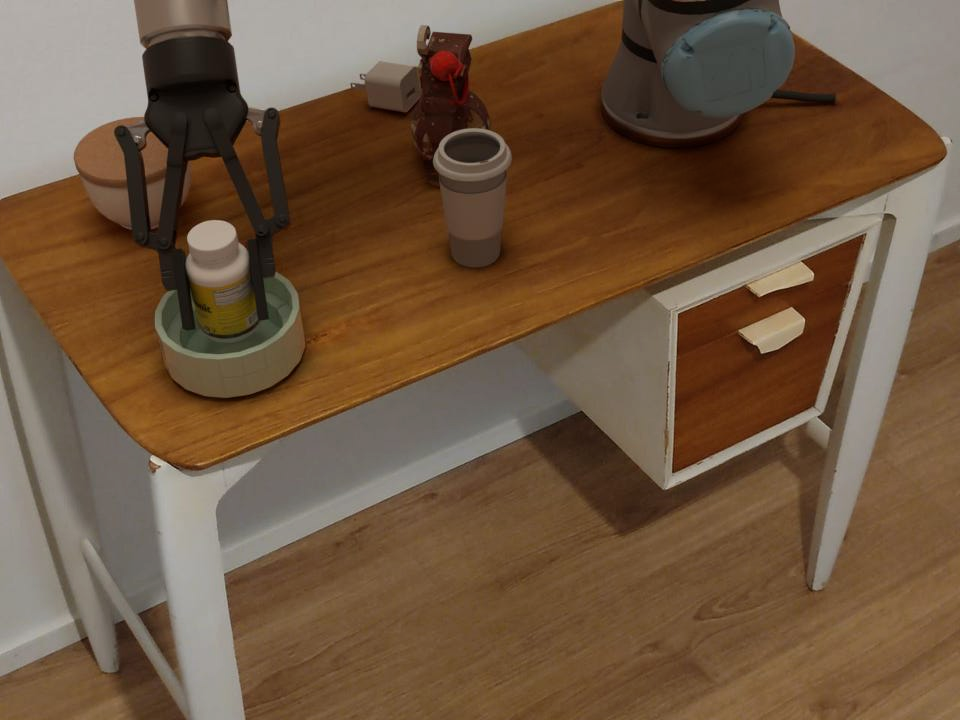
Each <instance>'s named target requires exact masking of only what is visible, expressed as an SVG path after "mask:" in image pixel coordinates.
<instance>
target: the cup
mask: <svg viewBox="0 0 960 720" xmlns="http://www.w3.org/2000/svg"><path fill="white" fill-rule="evenodd" d="M512 162H513V155H512V151H511V149H510V147H509V146H508V144H507V143H506V141H505V140H504V138H503V137H502V136H501V135H500V134H499V133H496V132H495V131H492V130H491V129H490V130H486V129H479V128H469V129H462V130H458V131H455V132H453V133H451V134H449V135H447V136H446V137H444V138H443V139H442V140H441V142H440V144H439V148H438V149H437V151H436V152H435V154H434V158H433V165H434V167H435V169H436V170H437V171H438V172H439V182H440V187H439V188H440V194H441V195H440V196H441V201H442V209H443V215H444V222H445V228H446V230H447V234H448V239H449V240H448V242H449V247H450V253H451V258H452V259H453V260H454V262H456V263H457V264H459V265H460V266H463V267H466V268H475V269H476V268H483V267H486V266H490V265H492V264H493V263H494V262H496V261H497V259H499V257H500V254H501V242H502V228H503V226H504V219H505V206H506V193H507V182H508V171H507V169H508V168H509V167H510V165H511V163H512Z"/></svg>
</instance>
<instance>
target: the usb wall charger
mask: <svg viewBox="0 0 960 720" xmlns="http://www.w3.org/2000/svg"><path fill="white" fill-rule="evenodd" d="M359 79H360V80H363V81H364V83H359V82H350V83H349V84H350V88H351V89H352V90H357V91H362V92H366V96H367V103H368V106H369V107H370V108H376V109H383V110H389V111H395V112H401V113H408V111H410V109H411V108H412V107H414V105H415V104H417V103H418V102H419V101H420V99H421V94H422V93H421V84H420V77H419V74H418V67H417V66H414V65H409V64H401V63H395V62H387V61H383V60H382V61H378V62H377V63H376V64H375V65H374V66H373V67H372V68H371V69H370V70H369V71H367V73H359ZM353 85H354V86H355V87H354V86H353Z"/></svg>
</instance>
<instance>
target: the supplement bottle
mask: <svg viewBox="0 0 960 720" xmlns="http://www.w3.org/2000/svg"><path fill="white" fill-rule="evenodd" d="M186 241H187V245H188V251H189V253H188V255H187V256H186V263H185V269H186V274H187V278H188V282H189V286H190V290H191V294H192V298H193V302H194V306H195V310H196V315H197V319H198V323H199V326H200V329H201V331H202V333H203V334H204V335H205V336H206V337H207V338H209V339H211V340H213V341H216V342H221V343H231V342H237V341H240V340H243V339H245V338H247V337H249V336H251V335H252V334H253V333H254V332H255V331H256V330H257V329H258V328H259V326H260V324H261V321H262V320H259V319H258V316H257V309H256V302H255V295H254V288H253V281H252V274H251V267H250V260H249V253H248V248H246V247H245V246H244V245H243V244H242V243H240V242H239V238H238V232H237V229H236V228H235V226H234V225H233V224H232V223H230V222H229V221H225V220H220V219H219V220H218V219H212V220H205V221H203V222H200V223H198V224H196V225H195V226H194V227H192V228H191V229H190V231H189V232H188V233H187V235H186Z"/></svg>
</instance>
